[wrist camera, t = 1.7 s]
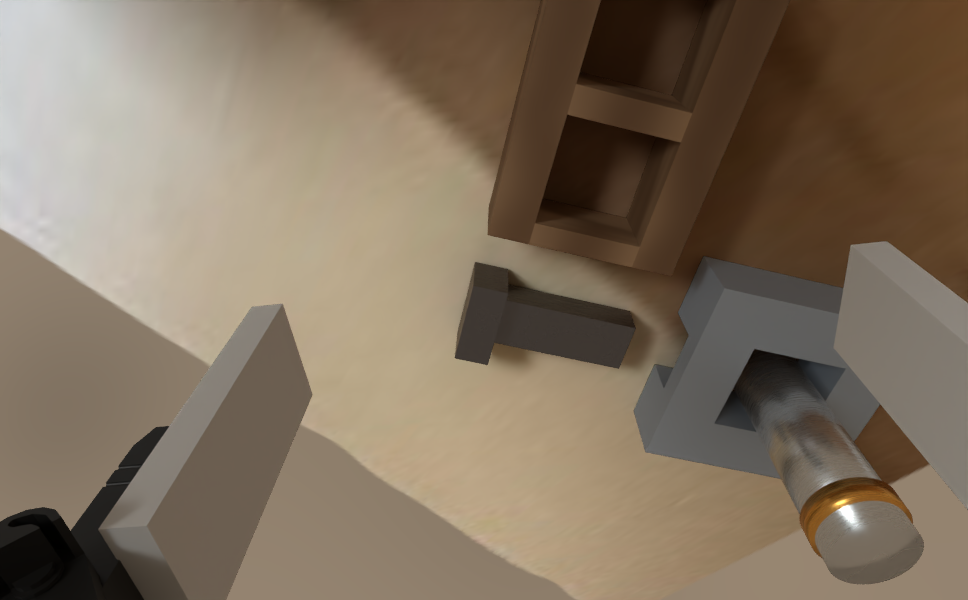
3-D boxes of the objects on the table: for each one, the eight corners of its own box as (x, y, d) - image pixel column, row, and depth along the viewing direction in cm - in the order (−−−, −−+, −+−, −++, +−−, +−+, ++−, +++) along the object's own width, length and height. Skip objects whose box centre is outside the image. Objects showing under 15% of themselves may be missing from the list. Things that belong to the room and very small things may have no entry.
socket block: (633, 410, 43) (645, 452, 39) (703, 256, 37) (724, 288, 34) (797, 444, 44) (822, 487, 40) (889, 298, 38) (928, 334, 35)
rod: (708, 378, 41) (804, 578, 28) (736, 322, 39) (854, 511, 26) (770, 391, 42) (893, 594, 29) (802, 337, 40) (949, 529, 27)
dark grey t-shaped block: (457, 331, 40) (454, 358, 37) (475, 261, 37) (473, 285, 35) (608, 362, 41) (616, 391, 38) (635, 297, 38) (645, 323, 36)
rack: (488, 206, 36) (487, 234, 32) (565, -96, 29) (574, -102, 25) (655, 244, 37) (671, 276, 33) (770, -39, 29) (806, -37, 26)
